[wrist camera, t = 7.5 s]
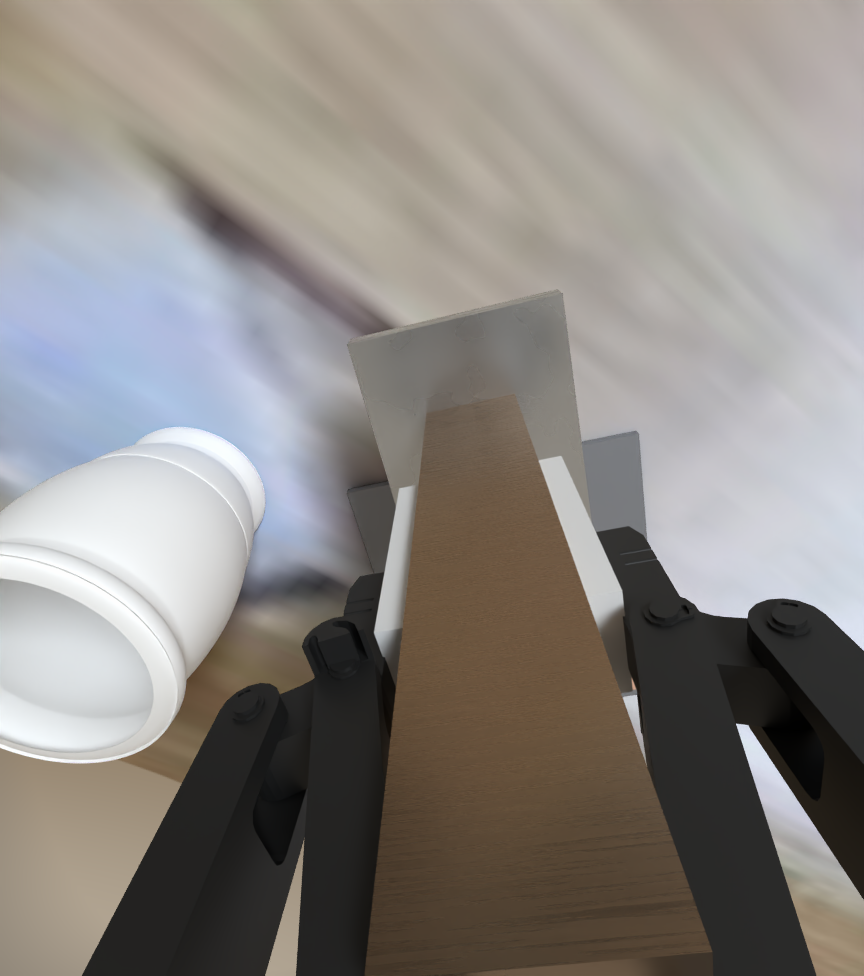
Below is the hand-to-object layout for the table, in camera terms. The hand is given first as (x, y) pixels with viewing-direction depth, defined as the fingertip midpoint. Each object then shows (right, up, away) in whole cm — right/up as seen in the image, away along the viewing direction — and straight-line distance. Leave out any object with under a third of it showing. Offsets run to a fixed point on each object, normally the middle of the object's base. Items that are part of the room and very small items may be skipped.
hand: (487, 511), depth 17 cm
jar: (-16, +1, +17) cm, 23 cm away
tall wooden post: (0, +3, +6) cm, 7 cm away
